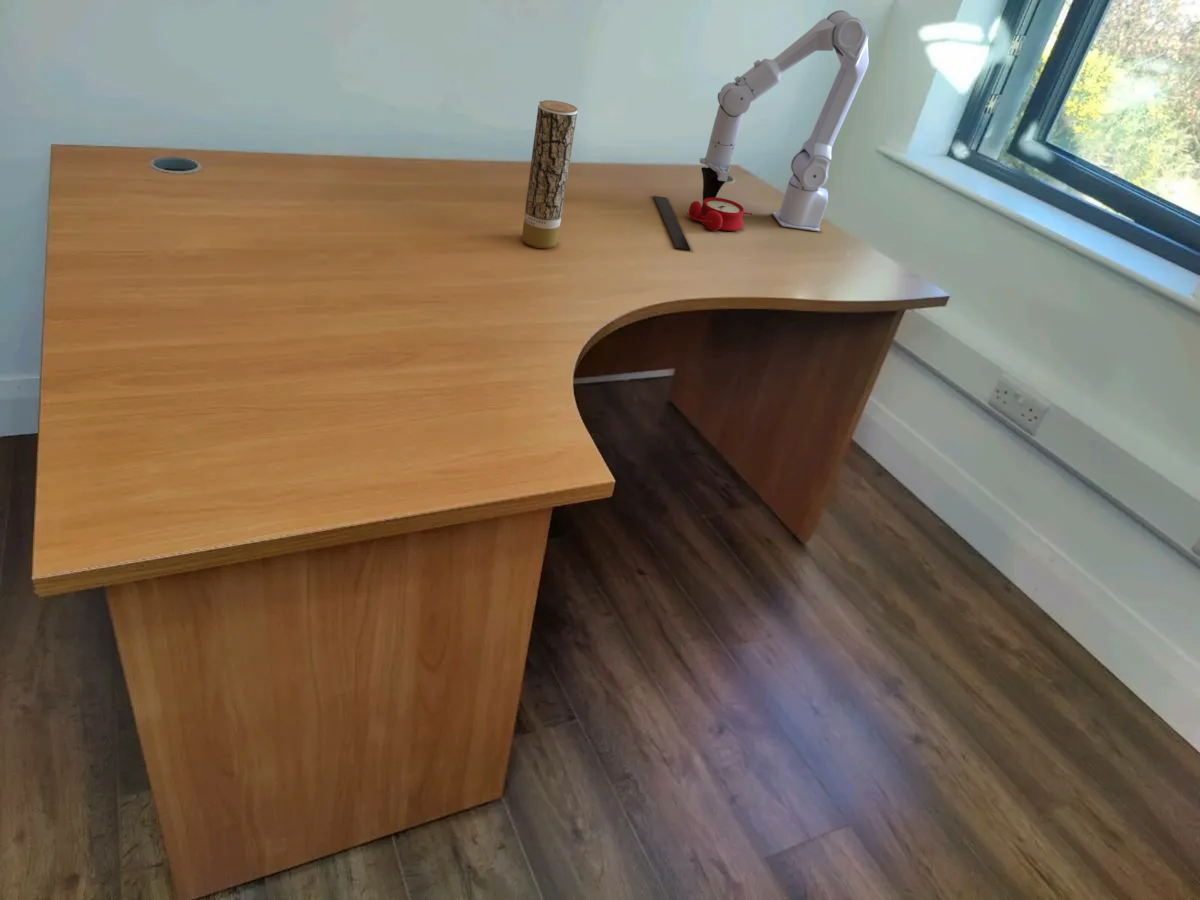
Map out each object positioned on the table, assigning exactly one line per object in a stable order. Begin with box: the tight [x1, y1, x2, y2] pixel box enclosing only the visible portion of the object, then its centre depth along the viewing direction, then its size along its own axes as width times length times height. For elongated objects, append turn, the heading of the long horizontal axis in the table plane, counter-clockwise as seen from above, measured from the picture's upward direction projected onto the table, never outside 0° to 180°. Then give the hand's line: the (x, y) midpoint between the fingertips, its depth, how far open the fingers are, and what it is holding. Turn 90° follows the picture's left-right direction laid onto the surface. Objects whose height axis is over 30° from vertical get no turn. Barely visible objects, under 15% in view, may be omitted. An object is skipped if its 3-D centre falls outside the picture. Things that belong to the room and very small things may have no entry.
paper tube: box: [521, 99, 579, 250], centre depth 151 cm, size 7×7×25 cm
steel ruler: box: [653, 195, 691, 252], centre depth 180 cm, size 3×30×1 cm, turn 6°
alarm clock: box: [686, 197, 753, 232], centre depth 183 cm, size 10×6×15 cm
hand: (707, 201), depth 191 cm, fingers closed
